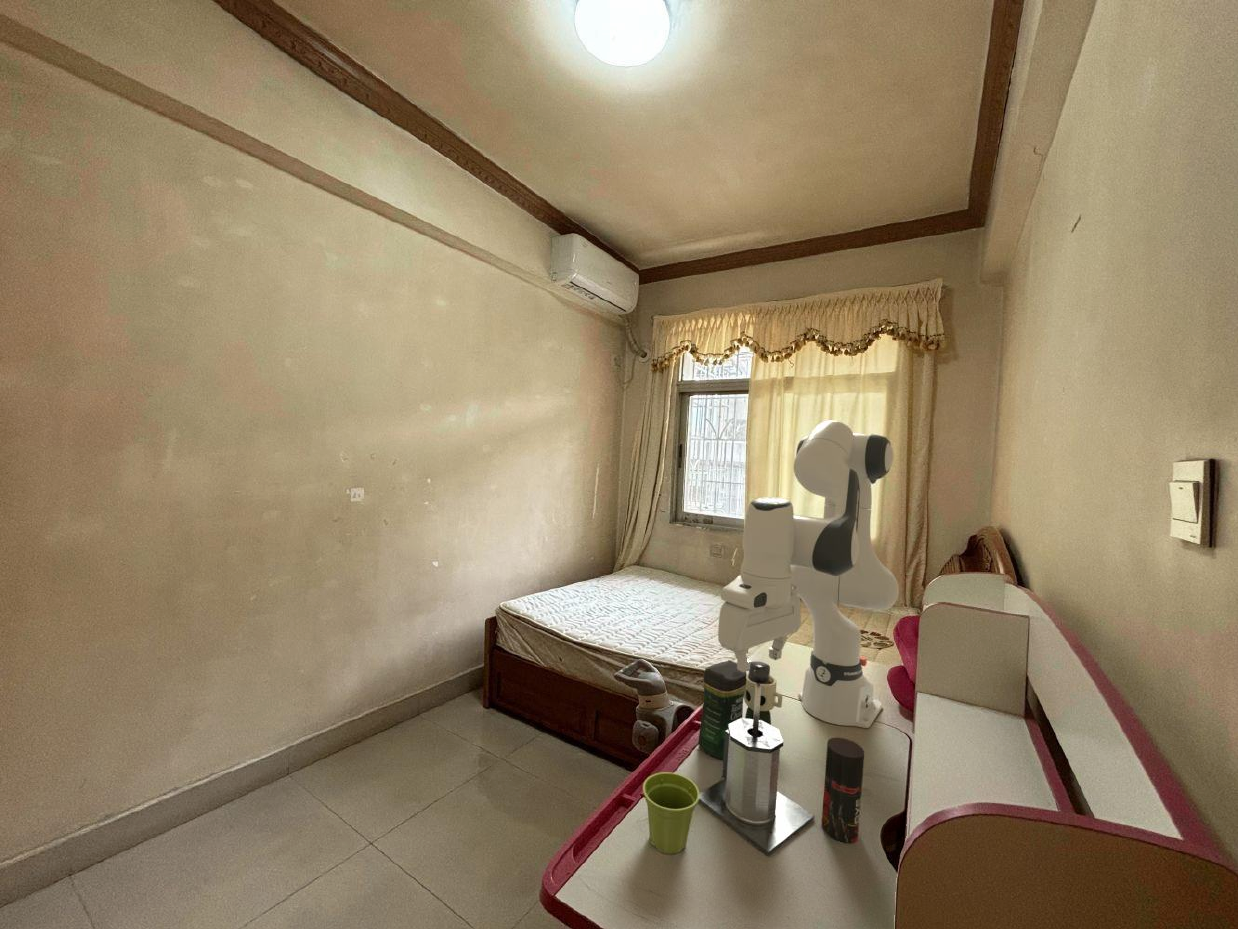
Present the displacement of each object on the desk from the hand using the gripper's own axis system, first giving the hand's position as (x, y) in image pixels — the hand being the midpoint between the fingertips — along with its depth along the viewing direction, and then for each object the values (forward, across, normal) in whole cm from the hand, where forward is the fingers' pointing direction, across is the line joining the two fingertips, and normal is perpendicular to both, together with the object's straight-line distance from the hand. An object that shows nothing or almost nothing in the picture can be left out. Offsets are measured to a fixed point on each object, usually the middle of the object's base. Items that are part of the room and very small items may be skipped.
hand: (759, 664), depth 91 cm
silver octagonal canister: (+28, 0, 0) cm, 28 cm away
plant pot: (+28, +17, -4) cm, 33 cm away
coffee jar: (+28, -11, -16) cm, 34 cm away
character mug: (+28, -23, -15) cm, 39 cm away
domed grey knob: (+14, 0, 0) cm, 14 cm away
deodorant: (+28, -10, +12) cm, 32 cm away
